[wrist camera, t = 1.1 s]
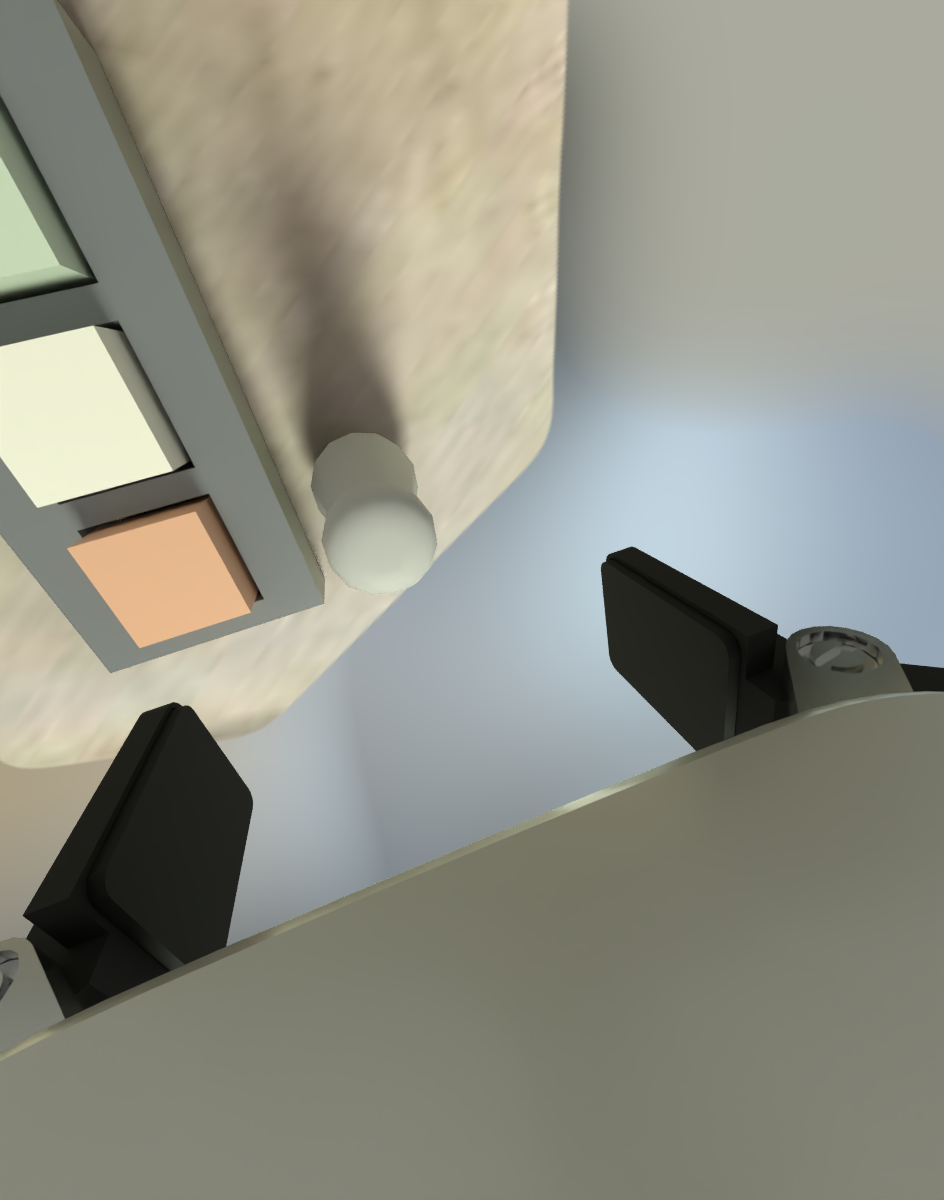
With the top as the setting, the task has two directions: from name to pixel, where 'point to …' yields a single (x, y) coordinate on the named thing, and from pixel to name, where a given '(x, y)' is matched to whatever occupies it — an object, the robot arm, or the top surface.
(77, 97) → the keypad
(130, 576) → the key terracotta
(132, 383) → the key cream
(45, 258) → the key sage
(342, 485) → the salt shaker
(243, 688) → the top surface
